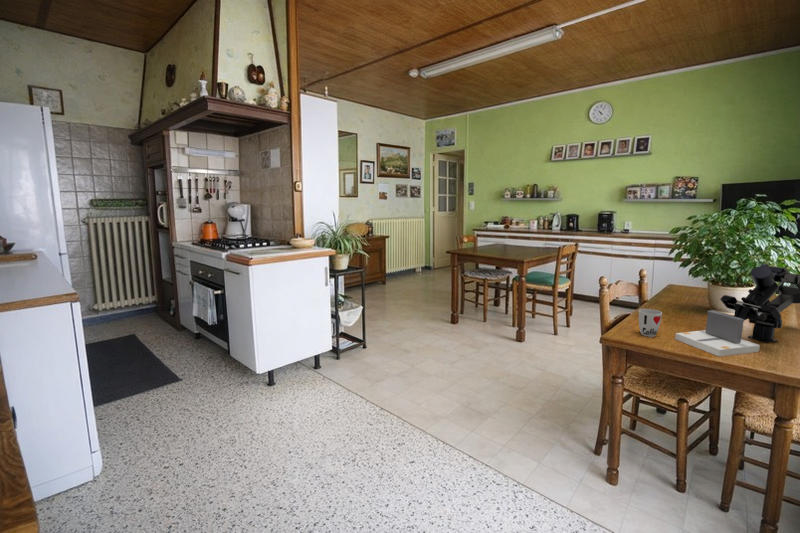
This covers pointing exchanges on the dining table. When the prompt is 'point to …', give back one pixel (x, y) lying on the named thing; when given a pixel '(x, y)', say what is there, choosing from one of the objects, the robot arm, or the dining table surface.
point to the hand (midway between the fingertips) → (734, 323)
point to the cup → (649, 321)
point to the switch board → (716, 343)
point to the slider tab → (724, 326)
